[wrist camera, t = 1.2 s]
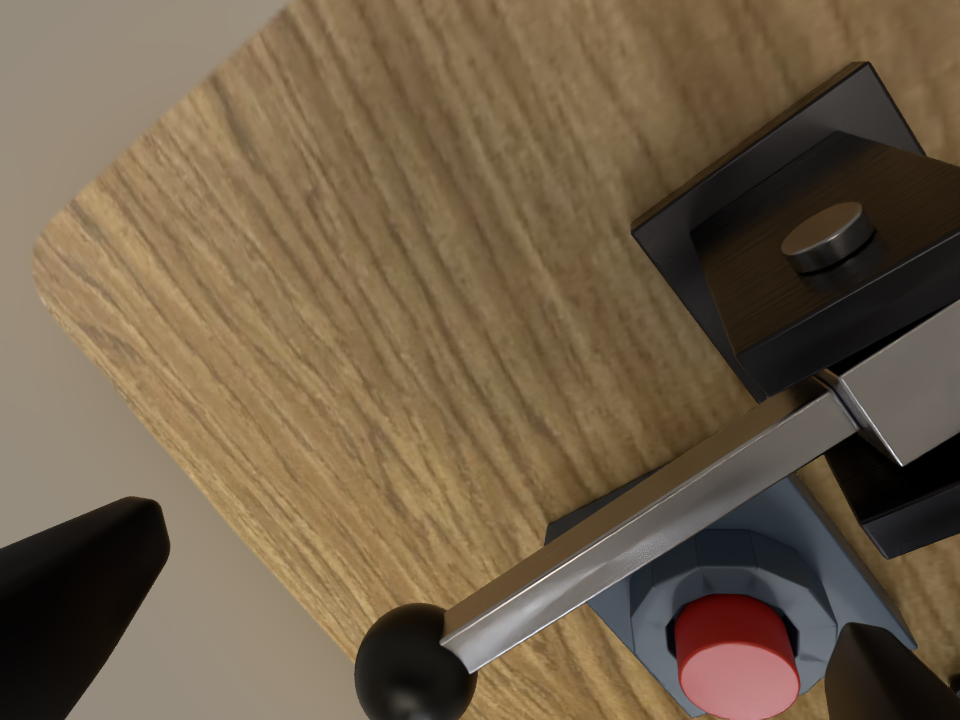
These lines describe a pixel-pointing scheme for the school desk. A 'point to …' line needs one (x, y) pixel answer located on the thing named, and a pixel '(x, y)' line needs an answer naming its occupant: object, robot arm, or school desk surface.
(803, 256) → the lever bracket
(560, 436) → the school desk surface
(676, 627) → the red button
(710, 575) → the button block
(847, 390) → the lever handle
